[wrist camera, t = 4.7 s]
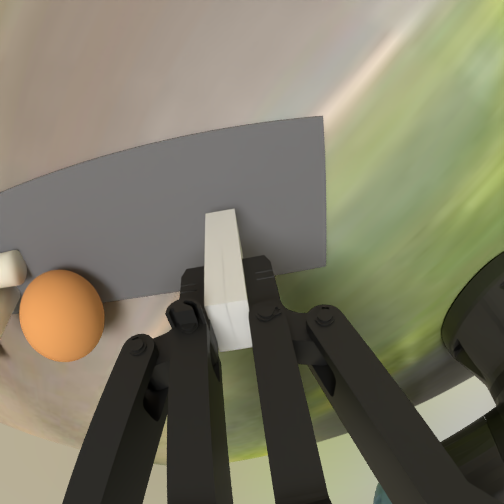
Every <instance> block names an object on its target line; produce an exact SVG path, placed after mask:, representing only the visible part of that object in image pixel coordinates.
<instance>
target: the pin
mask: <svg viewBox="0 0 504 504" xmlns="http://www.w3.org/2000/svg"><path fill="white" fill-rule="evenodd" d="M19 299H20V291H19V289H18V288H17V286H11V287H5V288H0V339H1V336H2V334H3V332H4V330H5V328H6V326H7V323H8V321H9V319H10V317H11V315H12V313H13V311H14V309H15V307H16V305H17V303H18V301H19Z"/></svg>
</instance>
